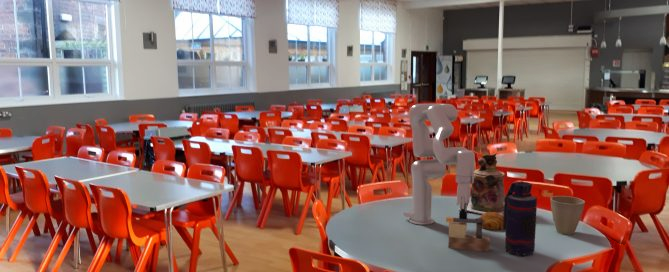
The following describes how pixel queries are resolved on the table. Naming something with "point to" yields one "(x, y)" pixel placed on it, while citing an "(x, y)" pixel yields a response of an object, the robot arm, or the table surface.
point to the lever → (464, 220)
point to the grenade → (520, 219)
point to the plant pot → (566, 213)
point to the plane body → (471, 241)
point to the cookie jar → (487, 187)
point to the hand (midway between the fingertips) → (462, 219)
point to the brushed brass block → (457, 229)
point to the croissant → (492, 221)
